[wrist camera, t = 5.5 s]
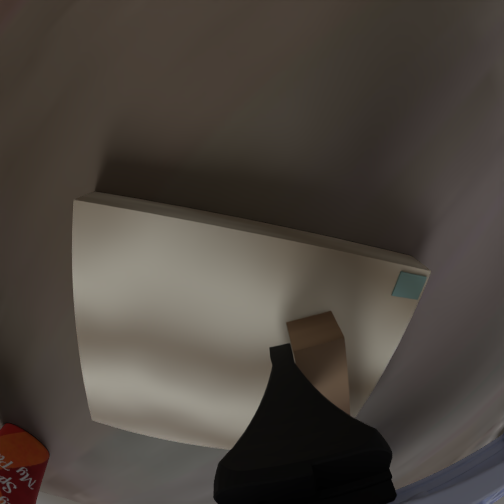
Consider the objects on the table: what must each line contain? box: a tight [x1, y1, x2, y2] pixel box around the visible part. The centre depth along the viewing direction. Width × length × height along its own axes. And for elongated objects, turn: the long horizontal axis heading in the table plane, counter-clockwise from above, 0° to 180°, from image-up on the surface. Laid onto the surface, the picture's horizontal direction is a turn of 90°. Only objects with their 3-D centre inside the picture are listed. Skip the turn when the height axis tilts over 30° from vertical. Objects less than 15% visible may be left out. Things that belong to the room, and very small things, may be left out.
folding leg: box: [286, 311, 350, 415], centre depth 13 cm, size 11×2×3 cm, turn 14°
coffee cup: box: [0, 423, 49, 504], centre depth 13 cm, size 8×8×15 cm
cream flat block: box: [72, 191, 431, 450], centre depth 15 cm, size 14×16×2 cm
